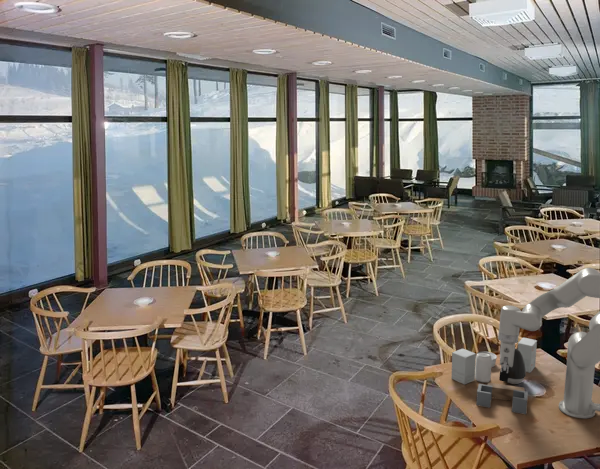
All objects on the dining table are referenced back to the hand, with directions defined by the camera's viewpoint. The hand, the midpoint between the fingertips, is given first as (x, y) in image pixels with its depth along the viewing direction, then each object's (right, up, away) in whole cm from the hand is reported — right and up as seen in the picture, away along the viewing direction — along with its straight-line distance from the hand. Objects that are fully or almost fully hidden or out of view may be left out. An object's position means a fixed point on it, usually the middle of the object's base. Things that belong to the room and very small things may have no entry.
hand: (504, 375), depth 214 cm
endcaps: (-3, -11, -4) cm, 12 cm away
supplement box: (-11, -7, +18) cm, 22 cm away
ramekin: (+4, -3, +32) cm, 33 cm away
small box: (+21, -4, +27) cm, 34 cm away
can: (-3, -7, +17) cm, 19 cm away
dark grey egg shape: (+9, -7, +15) cm, 19 cm away
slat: (+1, -10, +2) cm, 10 cm away
